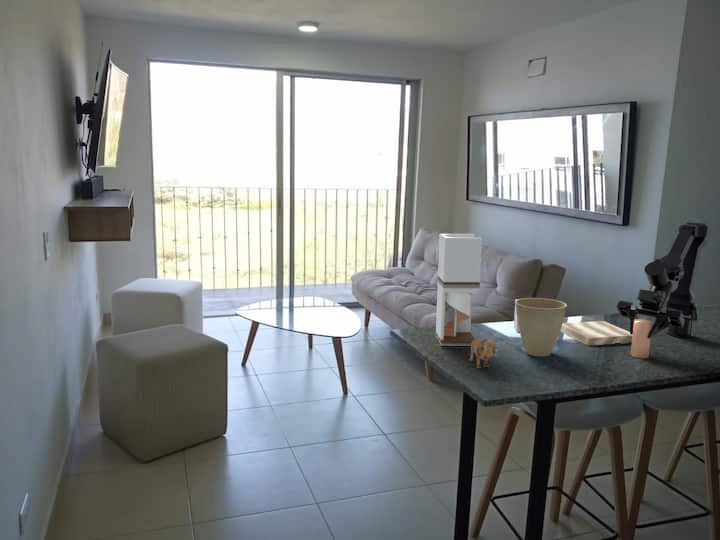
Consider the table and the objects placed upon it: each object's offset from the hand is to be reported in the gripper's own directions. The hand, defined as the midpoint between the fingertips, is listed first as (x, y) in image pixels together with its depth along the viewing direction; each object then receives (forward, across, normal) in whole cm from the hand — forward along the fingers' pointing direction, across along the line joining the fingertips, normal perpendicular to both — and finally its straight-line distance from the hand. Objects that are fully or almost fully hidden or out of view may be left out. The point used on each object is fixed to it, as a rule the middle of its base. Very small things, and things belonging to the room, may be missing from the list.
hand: (639, 335), depth 176 cm
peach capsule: (+4, 0, +6) cm, 7 cm away
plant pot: (+19, -22, -10) cm, 31 cm away
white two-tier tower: (+27, -45, -17) cm, 56 cm away
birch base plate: (-3, -19, +12) cm, 23 cm away
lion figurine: (+35, -27, -25) cm, 51 cm away
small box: (+5, -38, +4) cm, 39 cm away
